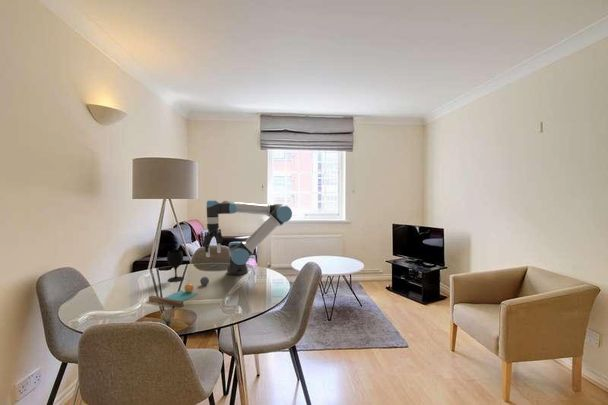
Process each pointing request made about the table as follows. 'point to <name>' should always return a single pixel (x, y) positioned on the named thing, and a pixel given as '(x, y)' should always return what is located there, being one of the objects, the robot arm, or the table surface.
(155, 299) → the stopper wall
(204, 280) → the charcoal ball
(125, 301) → the table surface
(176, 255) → the wine glass
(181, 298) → the teal mark
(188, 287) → the orange ball
